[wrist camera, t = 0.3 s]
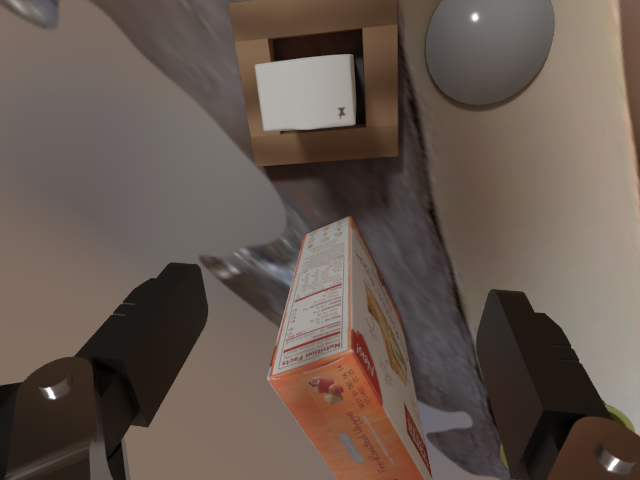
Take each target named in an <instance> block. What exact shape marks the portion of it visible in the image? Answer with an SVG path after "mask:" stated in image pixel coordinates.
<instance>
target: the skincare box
mask: <svg viewBox="0 0 640 480" xmlns="http://www.w3.org/2000/svg"><path fill="white" fill-rule="evenodd" d="M255 72H256V80H257V87H258V94H259V102H260V109H261V116H262V123H263V130H264V131H265V132H276V131H289V130H312V129H319V128H331V127H342V126H352V125H355V124H356V86H355V70H354V56H353V55H352V54H343V55H327V56H316V57H307V58H298V59H291V60H283V61H276V62H269V63H262V64H256V65H255Z"/></svg>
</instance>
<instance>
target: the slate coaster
mask: <svg viewBox="0 0 640 480" xmlns="http://www.w3.org/2000/svg"><path fill="white" fill-rule="evenodd" d="M554 25H555V23H554V12H553V6H552V3H551V0H441V2H440V3H439V4H438V6H437V8H436V9H435V11H434V13H433V15H432V18H431V20H430V23H429V26H428V29H427V33H426V39H425V58H426V64H427V67H428V71H429V73H430V75H431V77H432V79H433V81H434V82H435V84H436V85H437V86H438V88H439V89H440V90H441V91H442V92H443V93H445V94H446V95H447V96H449V97H450V98H452V99H454V100H456V101H459V102H461V103H465V104H470V105H487V104H492V103H496V102H499V101H502V100H504V99H507V98H508V97H510V96H512V95H514V94H515V93H517V92H518V91H520V90H521V89H522V88H523V87H525V86H526V85H527V84H528V83H529V82H530V81H531V80H532V79H533V78H534V76H535V75H536V74H537V72H538V71H539V70H540V68H541V67H542V65H543V63H544V61H545V60H546V57H547V55H548V53H549V50H550V47H551V44H552V40H553V35H554Z"/></svg>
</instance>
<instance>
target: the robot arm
mask: <svg viewBox="0 0 640 480" xmlns="http://www.w3.org/2000/svg"><path fill="white" fill-rule="evenodd" d="M207 316H208V304H207V299H206V294H205V289H204V283H203V278H202V273H201V269H200V267H199V266H198V265H197V264H186V263H173V262H172V263H169V264H168V265H167V266H166V267H165V269H164V270H163V271H162V272H161V273H160V274H159V276H158V277H157V278H156V279H155V278H151V279H149V280H147V281H146V282H144V283H143V284H141V285H140V286H138V287H137V288H135V289H134V290H133V291H132V292H131V293H130V294H129V295H128V297H127V298H126V299H125V300H124V301H123V304H121V305H120V306H119V307H118V308H117V309H116V310H115V311H114V313H113V315H111V316H110V317H109V318H108V319H107V320H106V321H105V322H104V324H103V325H102V326H101V327H100V328H99V329H98V330H97V331H96V333H95V334H94V335H93V336H92V337H91V338H90V339H89V340H88V341H87V343H86V344H85V345H84V346H83V347H82V348H81V349H80V351H79V352H78V353H77V354H76V355H75V356H74V357H66V358H61V359H57V360H55V361H52V362H50V363H47V364H45V365H43V366H42V367H40V368H39V369H37V370H36V371H34V372H33V373H32V374H31V375H29V376H28V377H27V379H25V380H24V382H21V383H14V384H7V385H1V386H0V480H130V474H129V466H128V459H127V451H126V444H125V440H124V438H123V437H124V435H125V433H126V432H127V430H128V428H129V427H130V425H134V426H142V427H149V425H150V423H151V421H152V419H153V418H154V416H155V414H156V412H157V411H158V409H159V407H160V405H161V403H162V401H163V400H164V398H165V396H166V394H167V393H168V391H169V389H170V387H171V386H172V384H173V382H174V380H175V378H176V377H177V375H178V373H179V371H180V370H181V368H182V366H183V364H184V362H185V361H186V359H187V357H188V355H189V354H190V352H191V350H192V348H193V346H194V345H195V343H196V341H197V339H198V337H199V336H200V334H201V332H202V330H203V328H204V327H205V324H206V321H207ZM476 349H477V355H478V359H479V363H480V367H481V370H482V374H483V377H484V381H485V385H486V388H487V392H488V396H489V399H490V403H491V406H492V410H493V414H494V417H495V421H496V425H497V428H498V432H499V435H500V439H501V443H502V446H503V450H504V454H505V457H506V461H507V464H508V468H509V472H510V475H511V478H512V479H519V480H640V436H638V435H637V434H636V433H634V432H633V431H632V430H630V429H628V428H627V427H625V426H623V425H621V424H619V423H617V422H614V420H613V419H612V417H611V415H610V413H609V412H608V410H607V408H606V406H605V405H604V403H603V401H602V399H601V398H600V396H599V394H598V392H597V390H596V389H595V387H594V385H593V383H592V382H591V380H590V378H589V376H588V374H587V373H586V371H585V369H584V367H583V366H582V364H580V363H579V358H578V357H577V355H576V353H575V351H574V350H573V349H571V344H570V343H569V341H568V339H567V337H566V335H565V334H564V332H563V330H562V328H560V327H559V326H558V325H557V324H556V323H555V322H554V321H553V320H552V319H550V318H549V317H548V316H547V315H546V314H545V313H535V312H534V310H533V308H532V306H531V304H530V302H529V300H528V299H527V297H526V295H525V293H524V292H520V291H508V290H495V289H492V290H490V292H489V294H488V297H487V300H486V304H485V307H484V311H483V314H482V318H481V321H480V325H479V328H478V332H477V339H476Z"/></svg>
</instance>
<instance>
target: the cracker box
mask: <svg viewBox="0 0 640 480" xmlns="http://www.w3.org/2000/svg"><path fill="white" fill-rule="evenodd" d="M267 380H268V381H269V383H270V384H271V385H272V387H273V388H274V390H275V391H276V393H277V394H278V395H279V397H280V398H281V400H282V401H283V403H284V404H285V405H286V407H287V408H288V409H289V411H290V413H291V414H292V415H293V417H294V418H295V420H296V421H297V423H298V424H299V425H300V427H301V428H302V430H303V431H304V432H305V434H306V435H307V437H308V438H309V440H310V441H311V443H312V444H313V445H314V447H315V448H316V449H317V451H318V452H319V454H320V455H321V457H322V458H323V459H324V461H325V462H326V463H327V465H328V466H329V468H330V469H331V471H332V472H333V474H334V475H335V476H336V478H337V479H338V480H432V475H431V470H430V465H429V460H428V454H427V450H426V445H425V440H424V435H423V430H422V425H421V421H420V415H419V410H418V404H417V399H416V394H415V388H414V383H413V378H412V373H411V368H410V363H409V358H408V353H407V348H406V342H405V337H404V332H403V327H402V322H401V317H400V315H399V313H398V311H397V309H396V307H395V305H394V302H393V300H392V298H391V296H390V294H389V292H388V290H387V288H386V286H385V284H384V282H383V280H382V278H381V275H380V273H379V271H378V269H377V267H376V265H375V263H374V261H373V259H372V257H371V254H370V252H369V250H368V248H367V246H366V244H365V242H364V240H363V238H362V236H361V234H360V232H359V230H358V228H357V225H356V223H355V221H354V219H353V217H352V216H351V215H350V216H348V217H345V218H343V219H340V220H338V221H336V222H333V223H331V224H328V225H326V226H324V227H321V228H319V229H317V230H314V231H312V232H310V233H307V234H305V235H304V238H303V242H302V246H301V250H300V253H299V257H298V261H297V265H296V269H295V273H294V276H293V280H292V284H291V288H290V292H289V295H288V299H287V303H286V307H285V311H284V315H283V318H282V322H281V326H280V330H279V334H278V338H277V342H276V345H275V349H274V353H273V356H272V360H271V364H270V368H269V373H268V376H267Z"/></svg>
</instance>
